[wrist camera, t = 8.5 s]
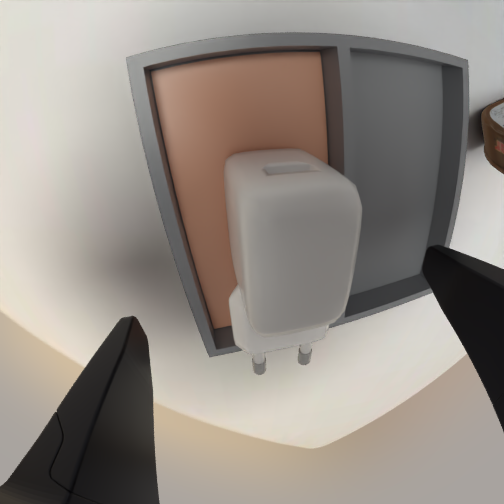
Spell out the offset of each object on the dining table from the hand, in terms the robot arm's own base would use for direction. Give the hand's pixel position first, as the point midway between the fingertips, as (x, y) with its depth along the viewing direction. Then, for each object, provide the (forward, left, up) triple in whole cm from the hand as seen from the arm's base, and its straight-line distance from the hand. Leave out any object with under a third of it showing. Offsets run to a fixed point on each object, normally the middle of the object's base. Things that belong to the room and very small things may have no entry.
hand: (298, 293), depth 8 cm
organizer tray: (-4, 0, -6) cm, 7 cm away
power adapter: (0, +2, -6) cm, 6 cm away
